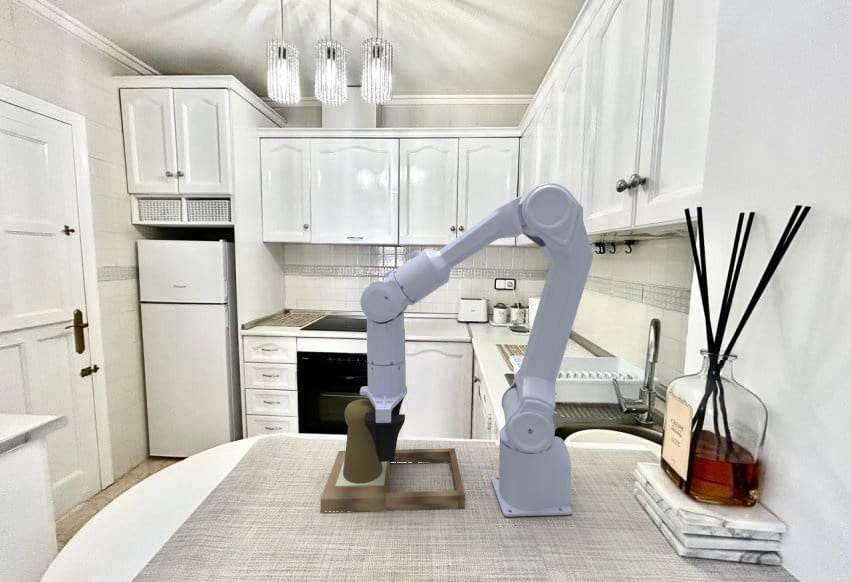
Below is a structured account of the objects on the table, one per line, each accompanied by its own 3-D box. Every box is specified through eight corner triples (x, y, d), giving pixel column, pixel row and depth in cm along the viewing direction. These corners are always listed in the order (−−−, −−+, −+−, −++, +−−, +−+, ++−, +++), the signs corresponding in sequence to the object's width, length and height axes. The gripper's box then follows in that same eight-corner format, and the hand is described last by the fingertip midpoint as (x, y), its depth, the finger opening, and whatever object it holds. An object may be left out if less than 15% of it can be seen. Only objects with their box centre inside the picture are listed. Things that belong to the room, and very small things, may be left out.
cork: (376, 485, 50) (375, 412, 49) (336, 481, 51) (334, 410, 50) (386, 461, 56) (385, 395, 55) (350, 458, 57) (349, 393, 56)
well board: (454, 459, 61) (454, 447, 60) (464, 508, 49) (464, 493, 49) (339, 462, 60) (338, 449, 60) (320, 512, 48) (320, 498, 48)
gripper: (366, 347, 59) (368, 423, 61) (351, 377, 45) (354, 475, 46) (407, 347, 60) (408, 422, 61) (405, 375, 45) (407, 474, 47)
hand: (388, 445), depth 54 cm, fingers open, 7 cm apart
